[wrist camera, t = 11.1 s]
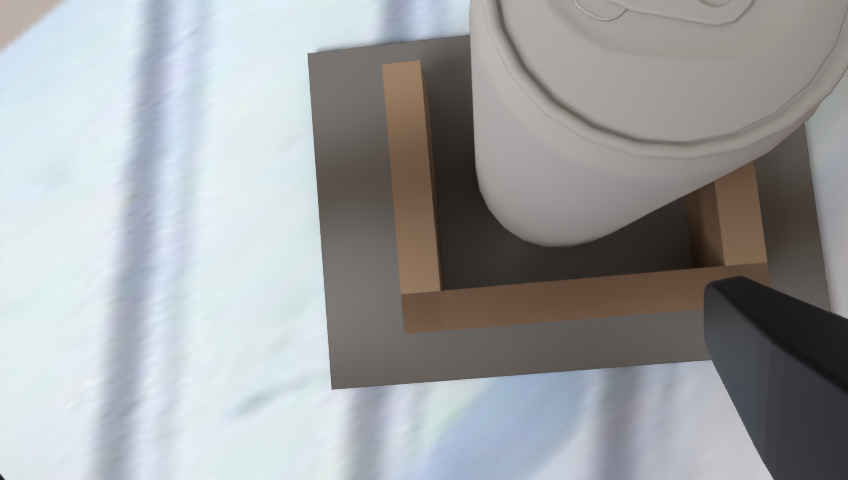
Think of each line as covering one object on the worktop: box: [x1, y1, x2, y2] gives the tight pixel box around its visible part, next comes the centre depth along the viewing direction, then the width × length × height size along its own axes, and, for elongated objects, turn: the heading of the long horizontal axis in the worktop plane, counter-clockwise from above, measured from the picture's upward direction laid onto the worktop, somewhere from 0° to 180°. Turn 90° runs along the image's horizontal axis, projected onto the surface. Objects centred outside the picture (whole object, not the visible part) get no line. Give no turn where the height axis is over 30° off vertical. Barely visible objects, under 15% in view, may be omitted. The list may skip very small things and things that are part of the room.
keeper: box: [308, 35, 830, 390], centre depth 19 cm, size 10×14×3 cm
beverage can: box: [469, 0, 848, 248], centre depth 14 cm, size 5×5×12 cm
